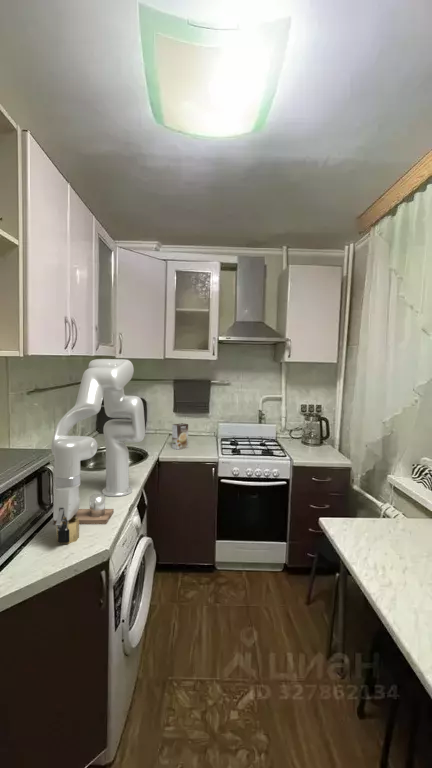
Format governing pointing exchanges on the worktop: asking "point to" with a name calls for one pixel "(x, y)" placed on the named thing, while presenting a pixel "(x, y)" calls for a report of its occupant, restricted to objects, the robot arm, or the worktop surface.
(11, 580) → the worktop surface
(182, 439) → the coffee box
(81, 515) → the pipe board
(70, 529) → the brass coupling
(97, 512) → the pair of light bulbs
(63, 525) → the robot arm
